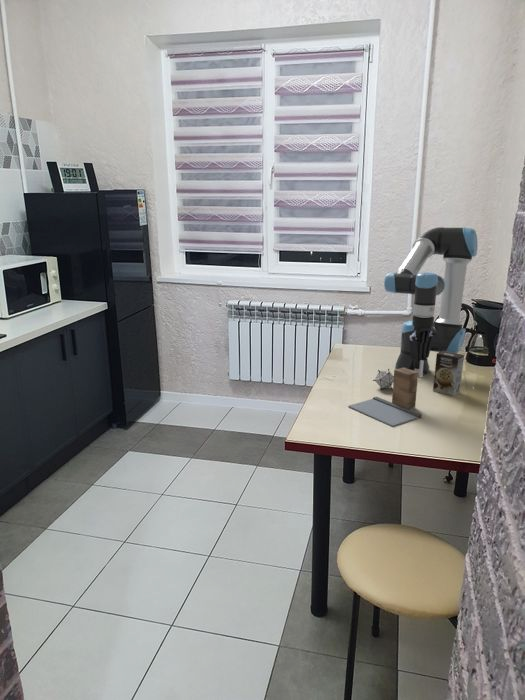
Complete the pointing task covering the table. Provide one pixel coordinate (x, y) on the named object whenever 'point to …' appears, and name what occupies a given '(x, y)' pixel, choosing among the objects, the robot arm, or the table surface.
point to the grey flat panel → (385, 411)
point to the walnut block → (405, 387)
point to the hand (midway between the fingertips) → (418, 376)
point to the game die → (384, 379)
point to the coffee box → (448, 373)
